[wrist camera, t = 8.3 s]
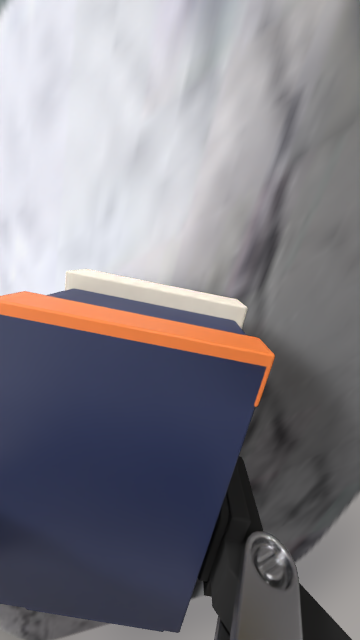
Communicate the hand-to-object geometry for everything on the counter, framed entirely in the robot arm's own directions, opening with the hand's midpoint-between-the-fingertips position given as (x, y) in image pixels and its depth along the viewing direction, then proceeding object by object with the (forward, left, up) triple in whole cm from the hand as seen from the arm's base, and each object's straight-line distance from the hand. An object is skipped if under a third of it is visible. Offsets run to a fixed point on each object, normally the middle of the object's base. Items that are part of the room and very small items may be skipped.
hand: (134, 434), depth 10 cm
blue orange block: (0, 0, -1) cm, 1 cm away
